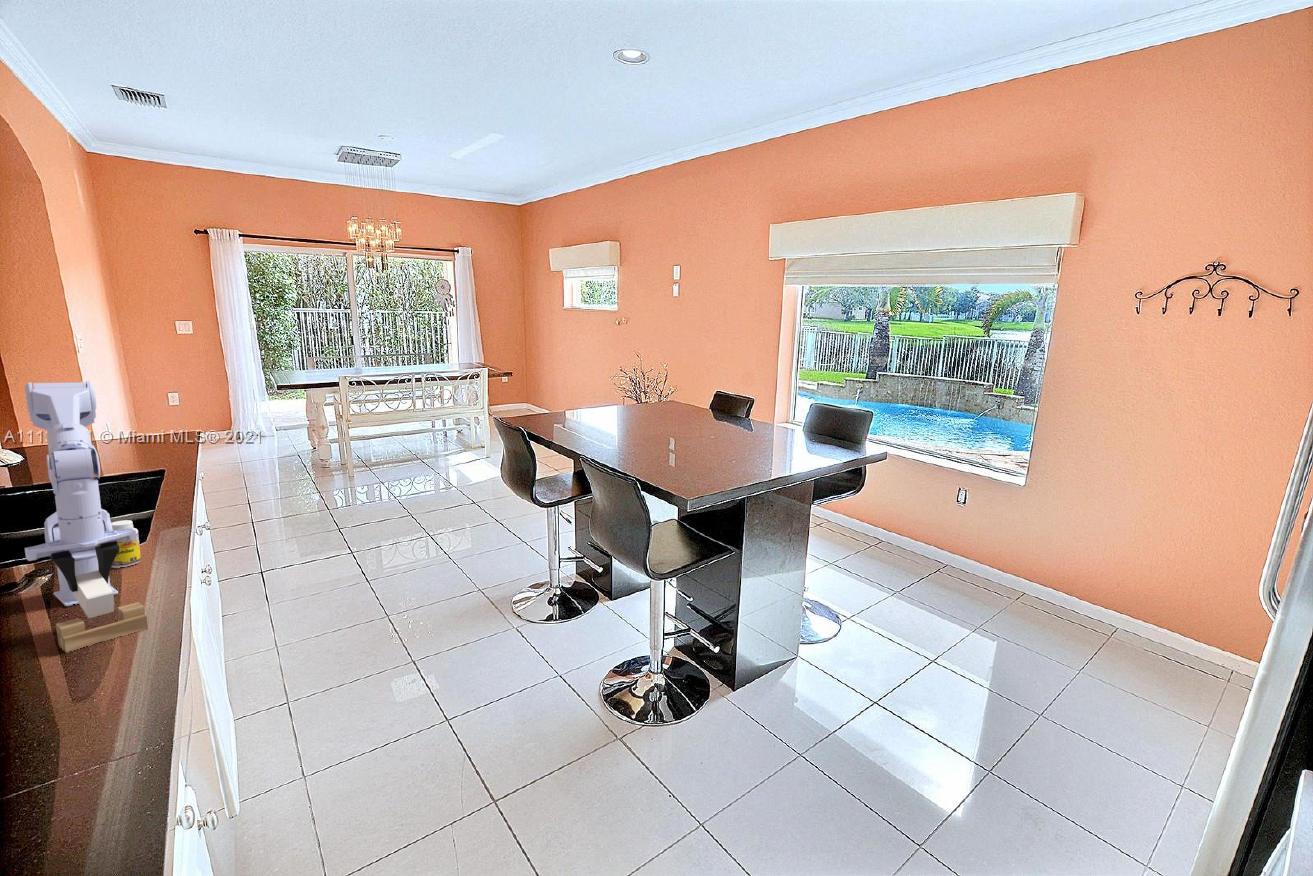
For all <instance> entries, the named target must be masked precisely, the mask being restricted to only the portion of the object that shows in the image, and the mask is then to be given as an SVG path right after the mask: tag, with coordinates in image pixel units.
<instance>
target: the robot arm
mask: <svg viewBox="0 0 1313 876" xmlns="http://www.w3.org/2000/svg"><path fill="white" fill-rule="evenodd" d="M24 390H25V397H26V405H27V410H28V413H29V418H30V422H32V426H33V427H36V428H40V429H43V430H46V432H47V433H46V441H47V447H48V454H47V455H46V465H47V472H48V478H49V481H50V483H51V486H52V491H53V494H54V500H55V507H56V508H55V509H56V511H55V512H54V513H51V515H49V516H48V517H47V518H45V521H44V524H43V525H44V530H43V531H44V540H45V543H41V544H38V545H34V546H28V547H24V553H25V559H26V560H27V561H28V562H31V561H36V560H38V559H40V558H45V557H49V558H50V559H51V560H52V562H53V563H54V564H55V565H56V570H57V577H58V584H59V590H57V591H54V592H53V596H55V598H57V600H59V601H60V602H61V604H63V605H64V607H71V606H74V605H73V604H75V605H78V604H79V603H78V601H77V599H76V598H75V596H74V595H73V592H76V591H78V585H77V581H76V576H75V575H79V574H84V573H88V572H93V571H97V570H98V571H99V572H100V574H101V575H102V577H103V578H104V580H105V581H106V582H107V584H108V585H109V587H110V588H111V590H112V591H113V592H114V596H115V595H118V594H119V591H118V590H117V589H116V588H114V587H113V586H112V585H111V580H110V579H111V578H110V573H111V569H112V567H111V566H112V564H113V561H114V559H115V557H116V555H117V554H118V552H119V549H120V547H119V545H117V542H122V541H127V540H129V541H132V540H137V535H136V530H135V529H133V528H134V527H133V528H130V529H124V530H116V531H113V529H112V523H113V522H112V521H111V516H110V513H109V512H108V510H105V509H103V508H102V504H101V496H100V489H99V480H100V477H101V466H100V465H101V464H100V457H99V454H98V453H99V452H98V451H97V449H96V447H95V446H94V444H93V443H92V437H91V435H90V434H91V433H90V431H89V429H88V428H87V426H89V425H93V424H95V419H96V418H97V415H96V414H97V413H96V410H97V400H96V399H97V397H96V392H95V385H94V384H93V383H92V382H90V381H88V380H87V381H85V382H84V381H81V382H80V381H79V382H34V383H33V382H29V381H28V382H27V383H26V384H25V385H24ZM95 475H96V476H97V478H96V476H95ZM98 479H99V480H98ZM79 605H80V604H79Z"/></svg>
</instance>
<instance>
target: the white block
mask: <svg viewBox="0 0 1313 876" xmlns="http://www.w3.org/2000/svg"><path fill="white" fill-rule="evenodd" d="M75 576H76V581H77V585H78V591H76V592H73V595H74V596H75V598H76V599H77V601H78V603H79V605H80V608H81V609H82V611H83V612H84V614H85V615H86V617H87V619H92V618H95V617H99V616H103V615H106V614H110V613H114V612H115V595H114V592H113V591H112V590H111V588H110V587H109V585H108V584H107V582H106V581H105V580H104V578H103V577H102V575H101V574H100V572H99V571H98V570H97V571H93V572H88V573H84V574H79V575H75Z"/></svg>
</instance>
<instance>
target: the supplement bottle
mask: <svg viewBox="0 0 1313 876" xmlns="http://www.w3.org/2000/svg"><path fill="white" fill-rule="evenodd" d="M111 523H112V529H113V531H116V530H124V529H130V528H133V529H135V530H136V535H137V540H132V541H129V540H127V541H122V542H117V545H119V547H120V549H119V552H118V554H117V555H116V557H115V559H114V561H113V564H112V566H111V569H112V568H114V569H121V568H120V567H125V568H127V567H126V566H130V565H133V564H135V563H138V562H139V561H140V560H141V561H142V557H141V546H140V539H139V537H140V535H139V530H138V529H137V528H135V527H134V524H133V521H132V520H130V519H125V520H117V521H113V522H111ZM141 561H140V562H141ZM140 562H139V563H140ZM139 563H138V564H139ZM130 567H131V566H130Z"/></svg>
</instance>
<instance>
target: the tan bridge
mask: <svg viewBox="0 0 1313 876" xmlns="http://www.w3.org/2000/svg"><path fill="white" fill-rule="evenodd" d="M117 612H118V613H117V614H118V621H116V622H112V623H108V624H105V625H102V626H98V627H94V628H91V629H87V630H86V625H85V621H84V620H82V618H80V617H78V618H74V619H70V620H67V621H61V622H59V623H55V626H56V627H55V628H56V635H57V642H58V646H59V647H60V649H61V648H62V649H61V650H62V651H63V652H65V654H69V653H71V652H70V651H72V652H75V651H78V650H81V649H80V648H82V649H84V648H83V647H85V648H87V647H86V646H88V647H91V645H92V646H94V645H93V644H95V643H98V642H101V641H105V642H108V641H110V639H112V640H115V639H117V637H118V638H120V637H119V636H122V637H124V636H128V634H129V635H132V634H135V633H138V632H141V631H145V630H149V629H148V628H149V627H148V617H147V615H146V613H145V605H143V604H142V603H140V602H133V603H129V604H126V605H122V606H119V607H117ZM134 632H135V633H134ZM131 633H132V634H131ZM114 638H115V639H114ZM107 640H108V641H107ZM98 644H99V643H98ZM95 645H96V644H95ZM77 649H78V650H77ZM74 650H75V651H74Z"/></svg>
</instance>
